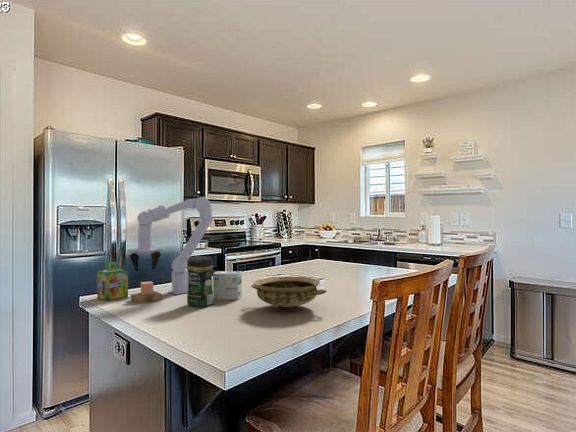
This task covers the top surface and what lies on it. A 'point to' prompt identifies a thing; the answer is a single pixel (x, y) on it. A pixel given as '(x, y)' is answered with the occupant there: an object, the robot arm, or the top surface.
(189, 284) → the coffee jar
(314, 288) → the ceramic bowl
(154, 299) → the walnut slab
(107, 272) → the chalk box
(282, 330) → the top surface
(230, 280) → the light bulb box
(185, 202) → the robot arm
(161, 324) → the top surface
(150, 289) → the terracotta block
